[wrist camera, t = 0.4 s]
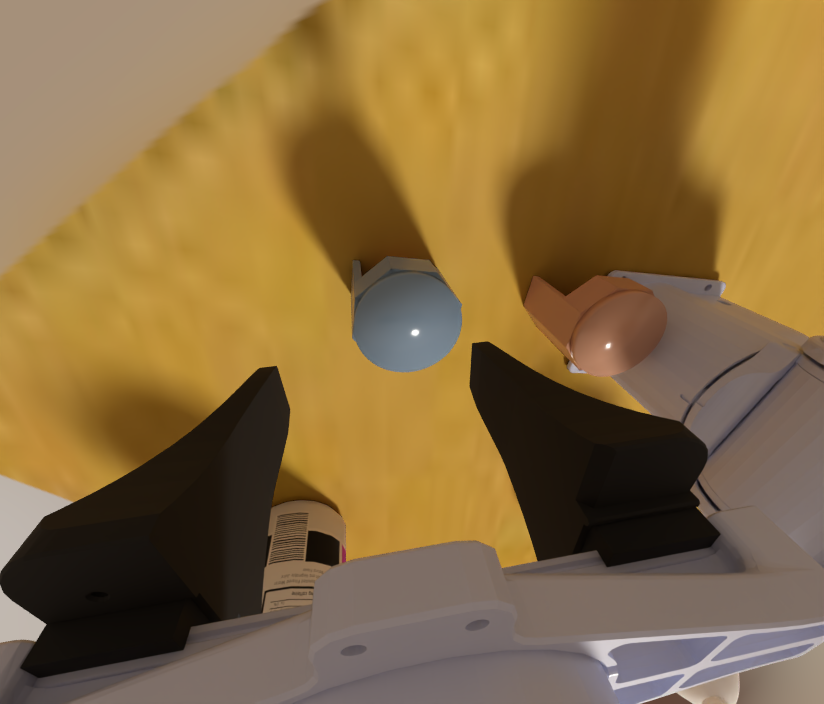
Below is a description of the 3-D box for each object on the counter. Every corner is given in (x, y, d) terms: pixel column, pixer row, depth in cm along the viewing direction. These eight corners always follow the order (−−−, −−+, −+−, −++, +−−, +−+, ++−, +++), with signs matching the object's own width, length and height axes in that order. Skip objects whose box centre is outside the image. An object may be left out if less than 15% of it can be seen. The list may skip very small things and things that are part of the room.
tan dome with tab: (610, 260, 23) (685, 297, 18) (580, 328, 25) (638, 377, 20) (540, 253, 21) (599, 289, 16) (517, 325, 24) (561, 375, 19)
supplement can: (359, 530, 34) (367, 762, 21) (282, 557, 34) (245, 801, 22) (321, 484, 30) (303, 742, 17) (233, 515, 30) (151, 792, 17)
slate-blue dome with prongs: (441, 243, 20) (472, 279, 15) (427, 320, 23) (450, 373, 18) (353, 234, 19) (356, 269, 14) (349, 316, 22) (350, 371, 17)
